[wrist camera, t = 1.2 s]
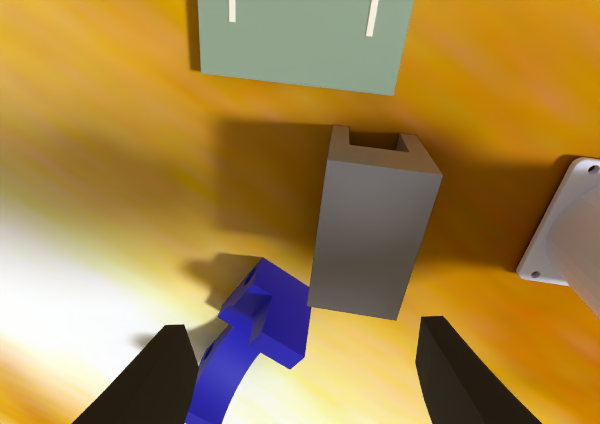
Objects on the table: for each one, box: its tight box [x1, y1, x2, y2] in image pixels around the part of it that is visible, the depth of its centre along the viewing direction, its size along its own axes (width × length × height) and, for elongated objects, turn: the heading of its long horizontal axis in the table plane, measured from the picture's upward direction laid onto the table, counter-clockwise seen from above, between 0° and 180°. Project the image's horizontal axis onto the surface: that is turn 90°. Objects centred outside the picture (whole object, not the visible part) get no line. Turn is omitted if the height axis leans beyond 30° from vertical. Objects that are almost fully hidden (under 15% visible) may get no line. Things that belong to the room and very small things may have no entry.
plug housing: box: [307, 125, 443, 321], centre depth 18 cm, size 5×8×6 cm, turn 175°
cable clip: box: [185, 258, 311, 424], centre depth 24 cm, size 12×4×6 cm, turn 145°
